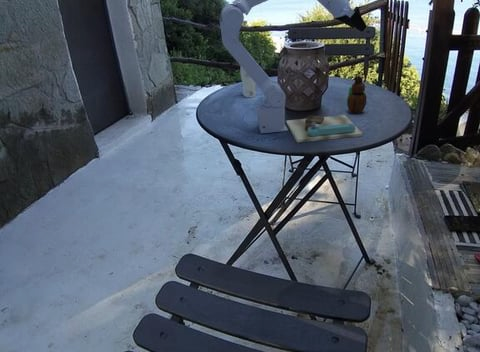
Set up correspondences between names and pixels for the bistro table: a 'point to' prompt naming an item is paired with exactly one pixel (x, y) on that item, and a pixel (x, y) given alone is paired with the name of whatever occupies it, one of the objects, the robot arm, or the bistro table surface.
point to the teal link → (330, 129)
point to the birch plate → (302, 135)
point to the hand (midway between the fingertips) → (359, 27)
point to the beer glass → (247, 84)
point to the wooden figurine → (357, 96)
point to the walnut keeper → (313, 119)
